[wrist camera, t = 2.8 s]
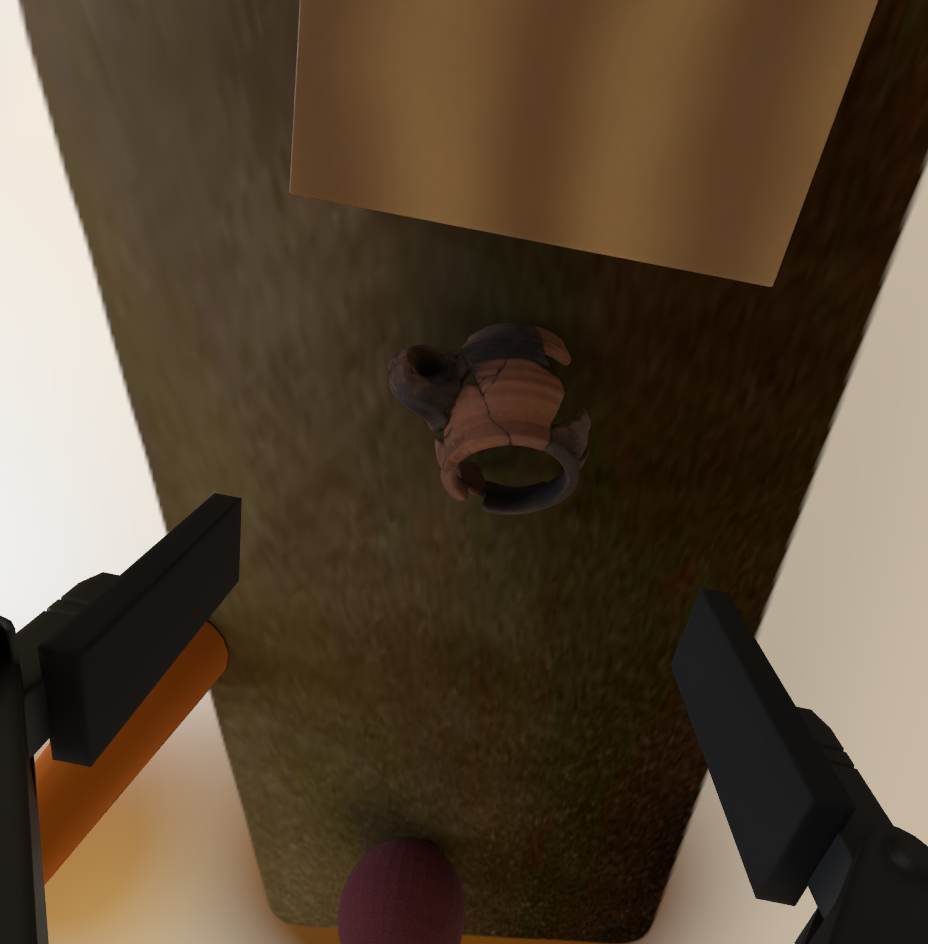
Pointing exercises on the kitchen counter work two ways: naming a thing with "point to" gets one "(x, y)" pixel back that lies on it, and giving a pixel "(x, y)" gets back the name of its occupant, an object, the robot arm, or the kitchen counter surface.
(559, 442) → the pottery mug
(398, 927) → the decorative ball
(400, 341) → the kitchen counter surface
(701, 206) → the tan open box
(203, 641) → the spray bottle
